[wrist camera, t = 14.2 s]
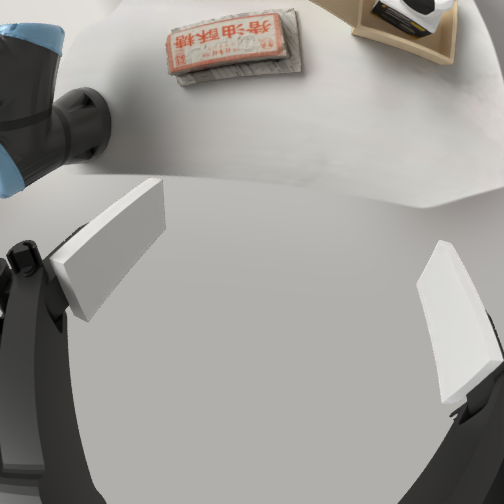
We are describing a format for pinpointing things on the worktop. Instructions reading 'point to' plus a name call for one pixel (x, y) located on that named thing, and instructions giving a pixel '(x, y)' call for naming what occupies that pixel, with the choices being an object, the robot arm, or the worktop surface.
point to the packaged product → (235, 47)
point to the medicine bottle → (412, 15)
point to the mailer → (369, 26)
